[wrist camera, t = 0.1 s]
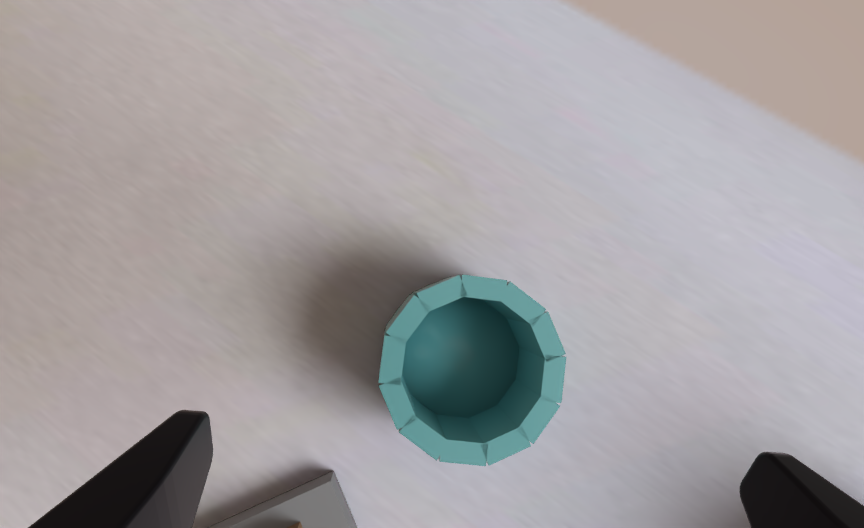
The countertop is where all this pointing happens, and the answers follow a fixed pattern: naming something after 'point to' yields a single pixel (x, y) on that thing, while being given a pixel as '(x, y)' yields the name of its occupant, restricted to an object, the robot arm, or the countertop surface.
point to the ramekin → (471, 369)
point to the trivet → (299, 508)
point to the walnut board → (296, 525)
